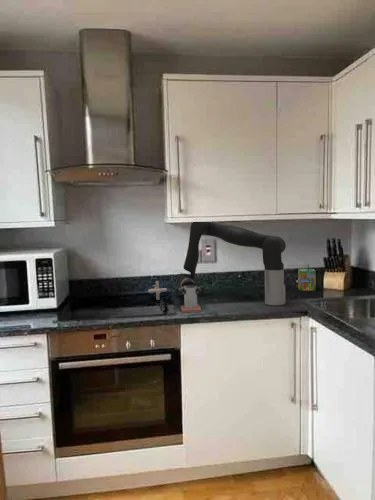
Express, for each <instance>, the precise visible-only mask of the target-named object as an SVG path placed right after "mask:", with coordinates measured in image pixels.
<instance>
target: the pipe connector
mask: <svg viewBox="0 0 375 500" xmlns="http://www.w3.org/2000/svg"><path fill="white" fill-rule="evenodd" d="M167 291H168V288H167V287H164V288H163V287H162V288H160V280H156V281H155V286H154V288H151V289H150V288H149V289H147V292H148V293H149V294H152V293H155V297H156V300H157V301H158V300H159V301H160V294H161V293H162V292H167Z"/></svg>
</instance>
